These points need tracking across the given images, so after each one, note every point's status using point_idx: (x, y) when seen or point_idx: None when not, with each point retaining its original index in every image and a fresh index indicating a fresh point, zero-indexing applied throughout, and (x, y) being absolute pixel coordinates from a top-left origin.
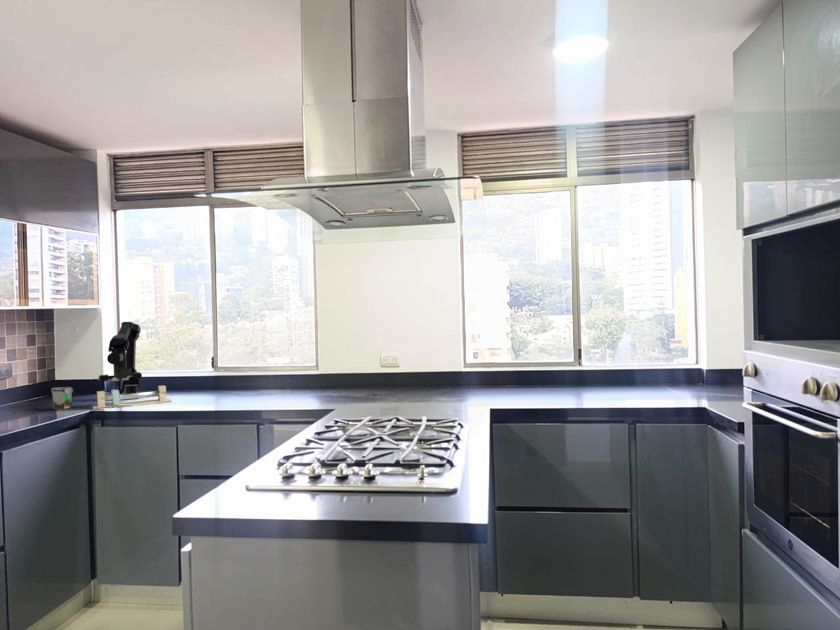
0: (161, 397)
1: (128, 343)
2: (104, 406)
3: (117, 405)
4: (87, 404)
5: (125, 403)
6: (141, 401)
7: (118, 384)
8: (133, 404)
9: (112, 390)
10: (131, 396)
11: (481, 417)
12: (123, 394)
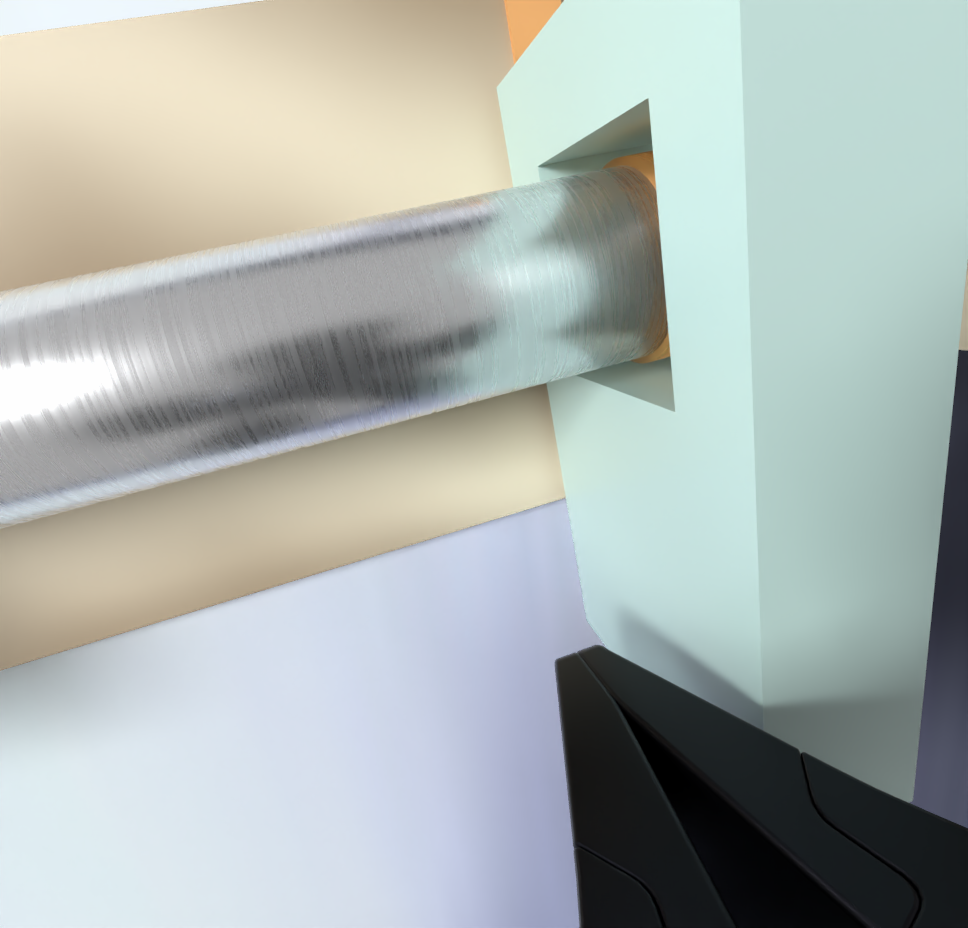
0: None
1: None
2: None
3: (531, 15)
4: (921, 724)
5: None
6: (39, 544)
7: (964, 919)
8: (104, 28)
9: (922, 569)
10: (161, 263)
11: None
12: (467, 259)
